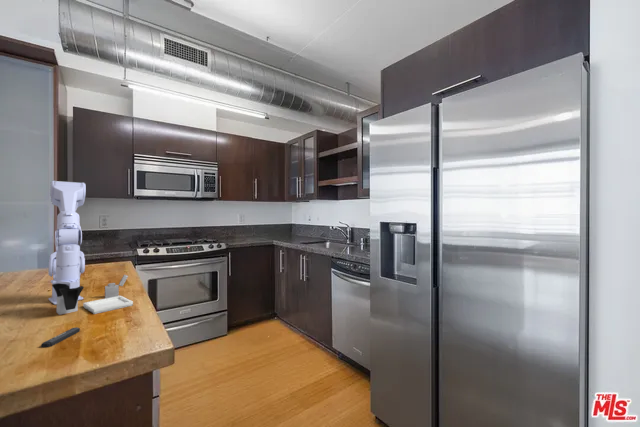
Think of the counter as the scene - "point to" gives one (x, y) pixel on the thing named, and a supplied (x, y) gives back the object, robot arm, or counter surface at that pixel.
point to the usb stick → (60, 337)
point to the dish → (107, 304)
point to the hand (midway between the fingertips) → (67, 306)
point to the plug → (61, 306)
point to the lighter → (114, 288)
